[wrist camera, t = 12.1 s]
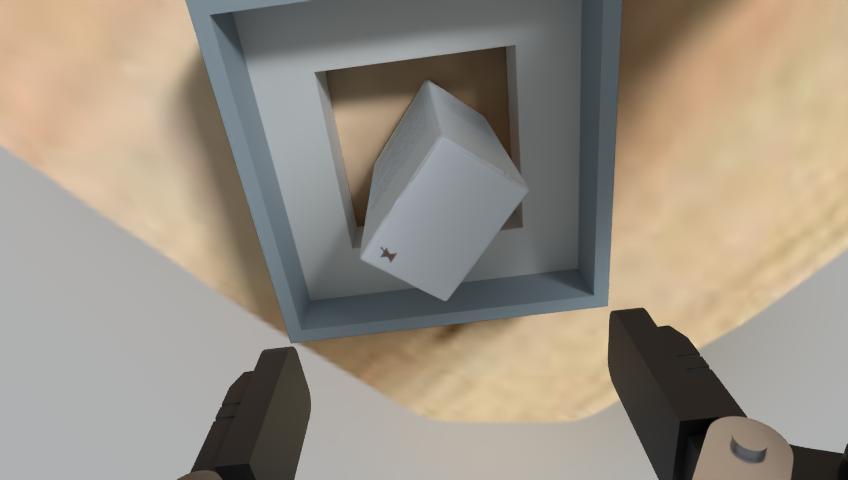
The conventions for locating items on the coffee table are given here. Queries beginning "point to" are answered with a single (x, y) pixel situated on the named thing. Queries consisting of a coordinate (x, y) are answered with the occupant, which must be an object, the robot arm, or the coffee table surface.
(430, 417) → the coffee table surface
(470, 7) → the bore box
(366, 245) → the skincare box
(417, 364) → the coffee table surface
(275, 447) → the robot arm
